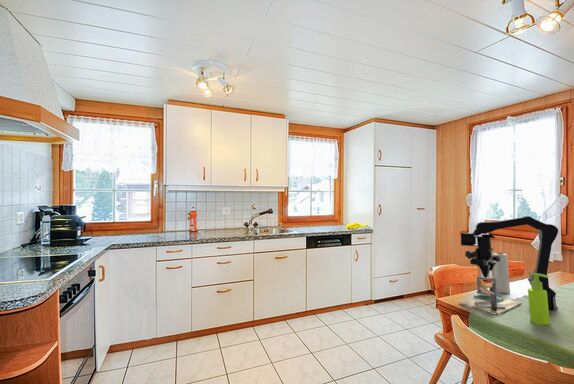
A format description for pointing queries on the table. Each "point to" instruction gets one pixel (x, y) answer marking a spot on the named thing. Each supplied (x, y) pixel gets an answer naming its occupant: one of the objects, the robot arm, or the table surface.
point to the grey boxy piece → (489, 277)
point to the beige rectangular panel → (489, 303)
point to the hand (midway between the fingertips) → (486, 276)
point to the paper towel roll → (501, 273)
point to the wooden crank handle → (490, 294)
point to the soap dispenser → (538, 301)
